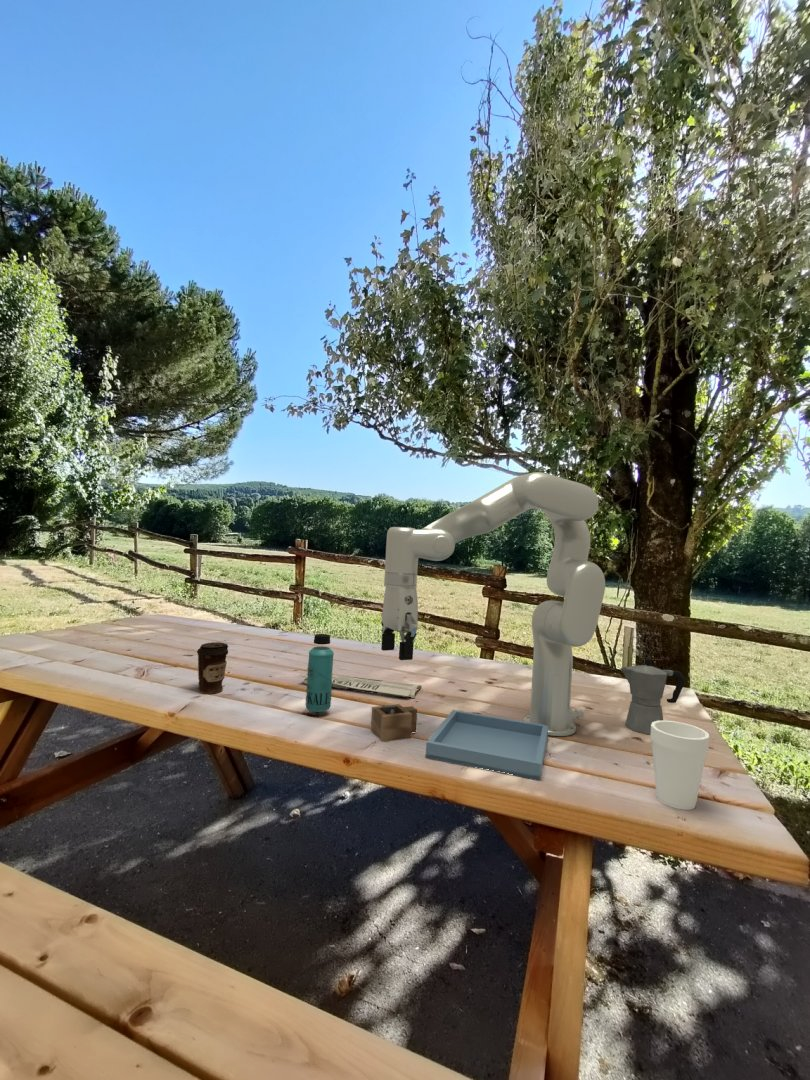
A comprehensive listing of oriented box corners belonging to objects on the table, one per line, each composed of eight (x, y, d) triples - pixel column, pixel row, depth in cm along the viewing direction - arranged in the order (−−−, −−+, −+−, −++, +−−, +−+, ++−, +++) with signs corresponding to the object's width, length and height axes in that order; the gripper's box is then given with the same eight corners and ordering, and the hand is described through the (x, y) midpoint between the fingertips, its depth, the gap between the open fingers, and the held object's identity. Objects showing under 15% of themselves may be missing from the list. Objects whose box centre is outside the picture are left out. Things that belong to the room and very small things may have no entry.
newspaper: (421, 690, 155) (422, 679, 155) (412, 703, 143) (413, 690, 143) (313, 677, 163) (313, 666, 163) (296, 688, 151) (296, 676, 151)
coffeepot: (619, 731, 128) (623, 659, 128) (614, 719, 137) (618, 652, 137) (687, 740, 124) (691, 666, 124) (677, 727, 133) (681, 658, 133)
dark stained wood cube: (407, 726, 123) (408, 703, 123) (420, 736, 117) (421, 712, 117) (370, 730, 119) (371, 706, 119) (382, 741, 113) (383, 716, 113)
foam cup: (639, 786, 98) (643, 718, 98) (690, 790, 98) (693, 722, 98) (660, 811, 89) (663, 737, 89) (715, 817, 88) (719, 741, 88)
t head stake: (393, 732, 119) (394, 704, 119) (395, 734, 118) (396, 706, 118) (381, 734, 117) (382, 705, 117) (383, 736, 116) (385, 707, 116)
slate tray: (452, 722, 128) (453, 709, 128) (547, 739, 120) (548, 725, 120) (425, 757, 106) (426, 742, 106) (539, 780, 98) (540, 764, 98)
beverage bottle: (318, 707, 133) (323, 631, 133) (336, 714, 129) (340, 635, 129) (299, 713, 128) (303, 633, 128) (316, 720, 124) (321, 637, 124)
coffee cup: (233, 691, 143) (236, 644, 143) (208, 697, 136) (211, 649, 136) (213, 684, 148) (216, 640, 148) (188, 691, 141) (190, 644, 141)
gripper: (433, 584, 112) (428, 662, 112) (399, 577, 127) (395, 646, 127) (402, 584, 108) (397, 664, 108) (371, 577, 124) (367, 647, 124)
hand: (396, 654), depth 118 cm, fingers open, 9 cm apart
